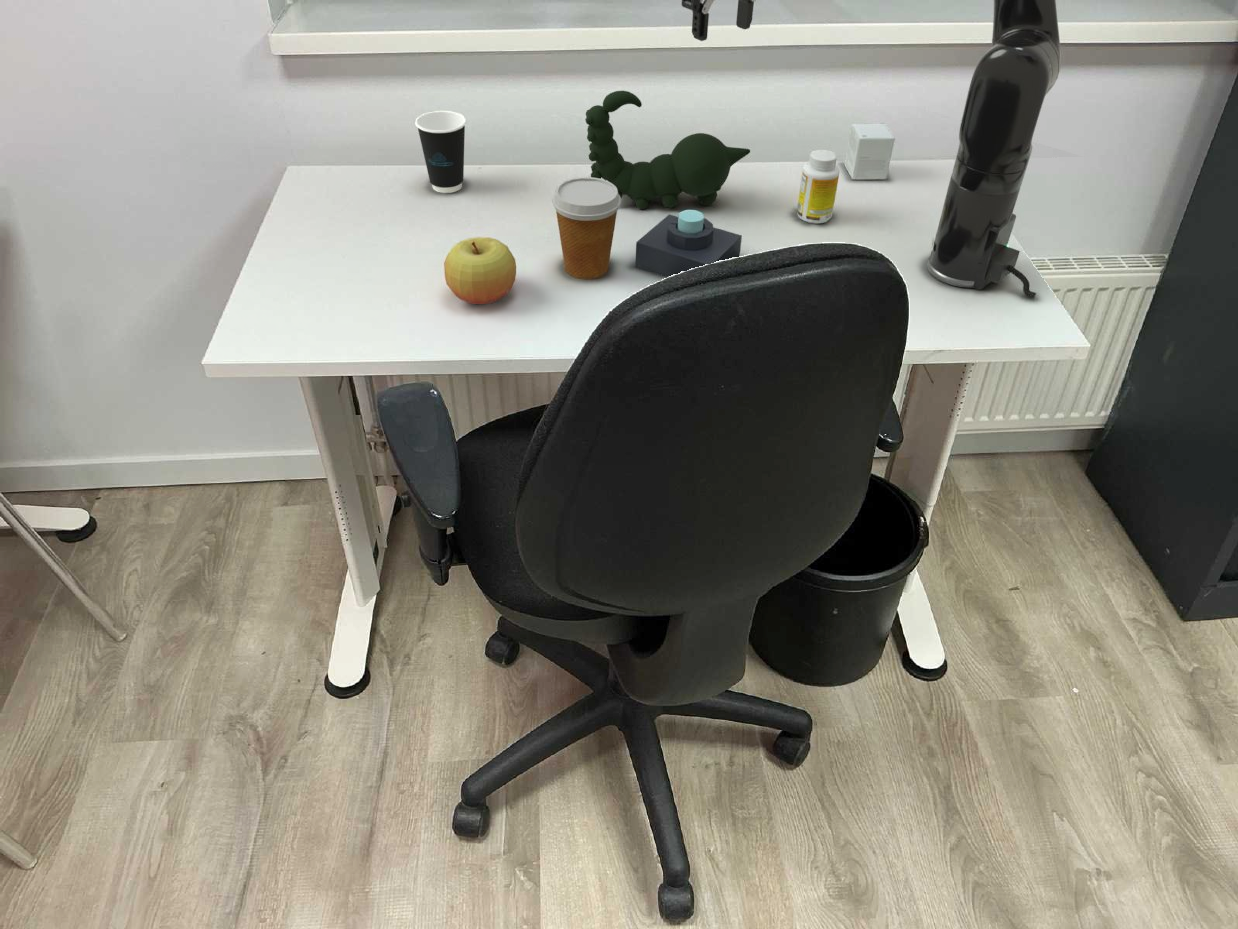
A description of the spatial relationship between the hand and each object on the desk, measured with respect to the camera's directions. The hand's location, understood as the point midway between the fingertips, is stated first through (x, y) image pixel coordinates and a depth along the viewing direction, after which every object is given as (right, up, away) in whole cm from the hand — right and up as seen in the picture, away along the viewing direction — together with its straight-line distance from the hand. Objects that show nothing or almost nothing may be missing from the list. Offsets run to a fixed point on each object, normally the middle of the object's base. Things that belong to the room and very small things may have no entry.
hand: (721, 33), depth 144 cm
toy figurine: (-7, -20, +16) cm, 27 cm away
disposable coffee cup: (-20, -34, 0) cm, 39 cm away
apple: (-34, -39, -6) cm, 52 cm away
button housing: (-5, -33, +2) cm, 33 cm away
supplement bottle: (+16, -23, +14) cm, 31 cm away
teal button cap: (-5, -29, -2) cm, 29 cm away
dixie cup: (-43, -17, +19) cm, 50 cm away
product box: (+27, -13, +26) cm, 39 cm away
